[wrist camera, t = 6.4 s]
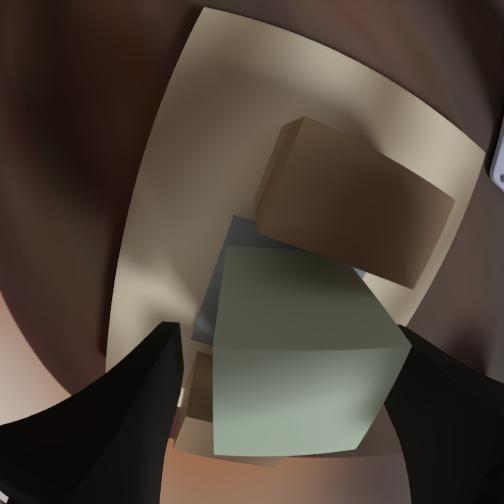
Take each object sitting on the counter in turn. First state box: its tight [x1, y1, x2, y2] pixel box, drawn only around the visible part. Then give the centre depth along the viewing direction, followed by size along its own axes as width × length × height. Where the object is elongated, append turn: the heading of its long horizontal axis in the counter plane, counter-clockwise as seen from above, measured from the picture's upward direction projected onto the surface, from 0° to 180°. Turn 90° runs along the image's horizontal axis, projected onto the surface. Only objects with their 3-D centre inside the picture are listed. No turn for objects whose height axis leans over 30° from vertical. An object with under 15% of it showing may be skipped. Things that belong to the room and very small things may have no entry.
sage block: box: [213, 245, 412, 456], centre depth 9 cm, size 4×4×6 cm
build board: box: [106, 7, 486, 467], centre depth 11 cm, size 14×19×6 cm
